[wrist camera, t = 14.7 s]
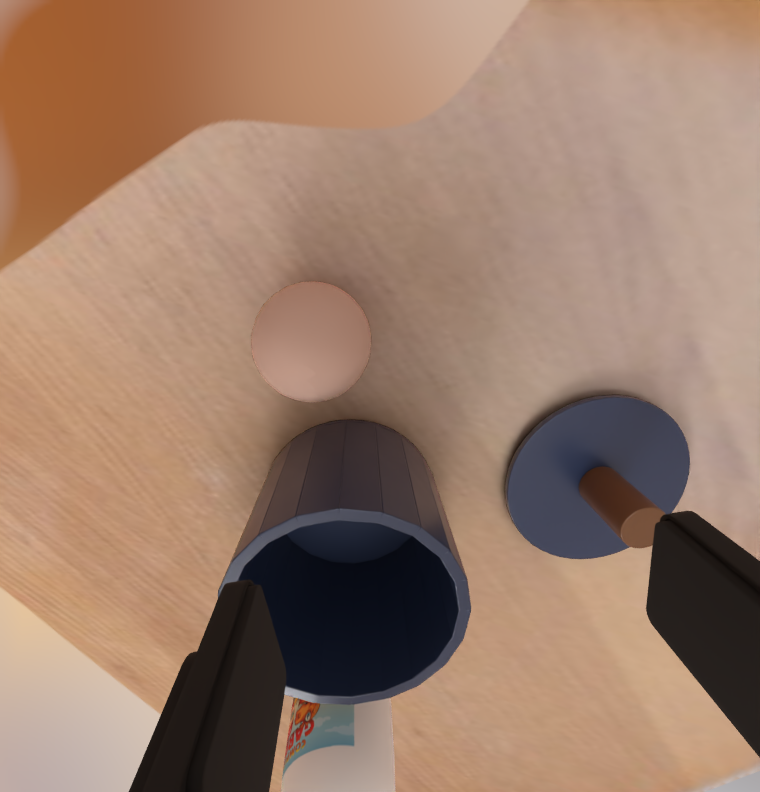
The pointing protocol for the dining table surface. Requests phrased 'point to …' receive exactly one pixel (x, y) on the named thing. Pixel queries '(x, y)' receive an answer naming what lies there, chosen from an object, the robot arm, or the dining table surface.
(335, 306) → the egg
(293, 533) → the pot
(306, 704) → the milk bottle
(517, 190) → the dining table surface
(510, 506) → the lid
